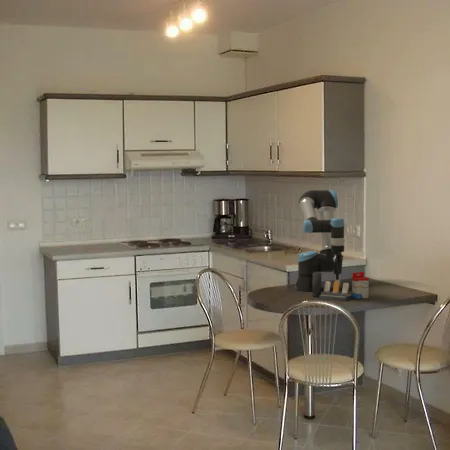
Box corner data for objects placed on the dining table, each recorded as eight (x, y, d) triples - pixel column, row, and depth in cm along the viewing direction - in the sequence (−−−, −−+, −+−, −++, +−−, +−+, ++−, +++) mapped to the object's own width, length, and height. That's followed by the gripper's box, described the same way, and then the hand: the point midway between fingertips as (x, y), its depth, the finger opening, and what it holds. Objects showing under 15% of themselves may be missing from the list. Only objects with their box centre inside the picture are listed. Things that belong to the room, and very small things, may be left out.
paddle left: (323, 292, 415) (325, 281, 417) (324, 293, 416) (326, 281, 418) (328, 292, 413) (330, 281, 415) (329, 293, 414) (331, 282, 416)
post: (311, 297, 417) (311, 273, 416) (314, 295, 421) (314, 272, 420) (319, 297, 415) (319, 274, 413) (322, 296, 419) (322, 272, 418)
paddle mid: (332, 293, 412) (333, 281, 413) (333, 293, 413) (334, 282, 415) (337, 293, 411) (339, 282, 412) (338, 294, 412) (339, 282, 413)
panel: (319, 298, 412) (319, 294, 411) (325, 295, 421) (325, 291, 421) (345, 301, 404) (345, 296, 404) (351, 298, 414) (352, 293, 413)
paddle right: (341, 294, 409) (343, 282, 411) (342, 294, 411) (344, 283, 413) (346, 294, 408) (348, 283, 410) (347, 295, 409) (349, 283, 411)
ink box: (356, 299, 410) (357, 274, 409) (351, 297, 415) (351, 272, 413) (368, 297, 414) (369, 272, 413) (363, 296, 418) (363, 271, 417)
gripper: (340, 246, 404) (340, 287, 407) (347, 243, 415) (347, 283, 418) (327, 246, 408) (328, 286, 410) (335, 243, 419) (335, 282, 421)
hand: (337, 285), depth 414 cm, fingers closed
